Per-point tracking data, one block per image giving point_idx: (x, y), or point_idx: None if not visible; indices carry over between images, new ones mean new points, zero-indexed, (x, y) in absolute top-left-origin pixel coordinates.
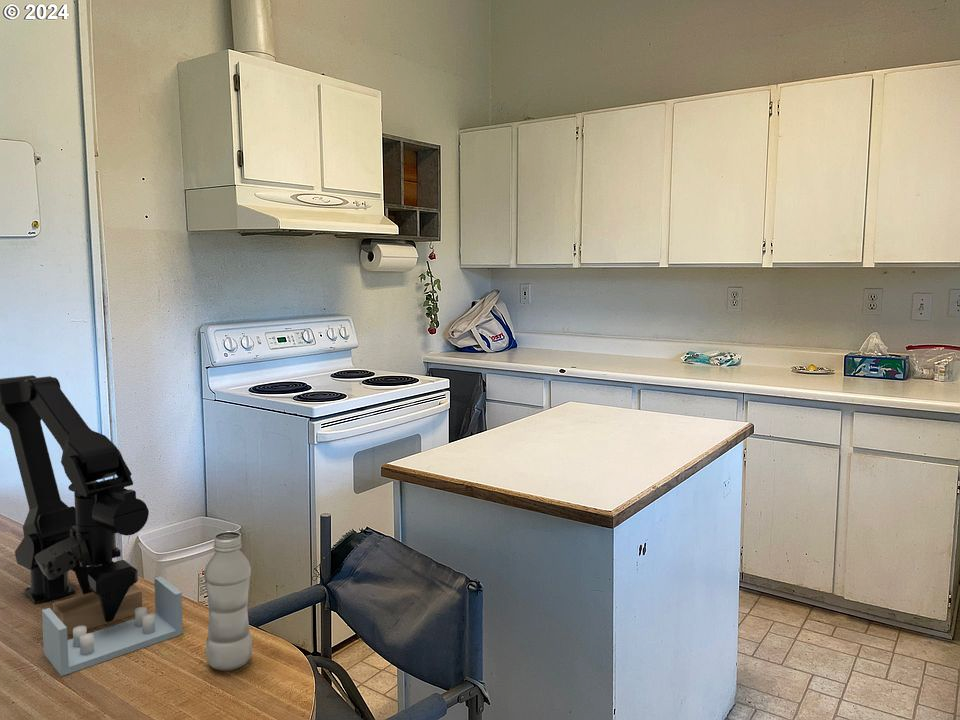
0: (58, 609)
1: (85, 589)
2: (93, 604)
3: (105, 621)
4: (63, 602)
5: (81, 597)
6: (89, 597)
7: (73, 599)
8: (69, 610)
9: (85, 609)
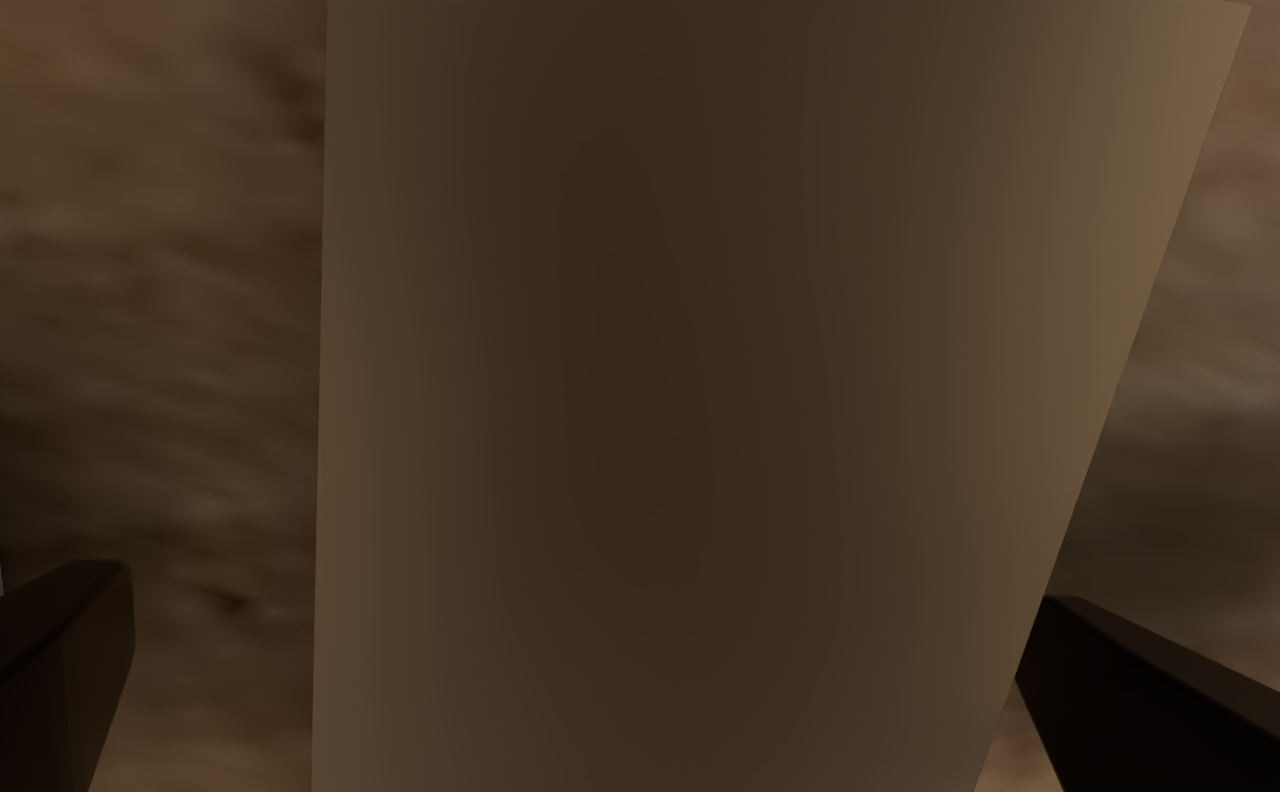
0: None
1: (1199, 749)
2: (374, 647)
3: (85, 560)
4: (1048, 213)
5: (929, 591)
6: (787, 698)
7: (995, 442)
8: (455, 101)
9: (318, 440)
